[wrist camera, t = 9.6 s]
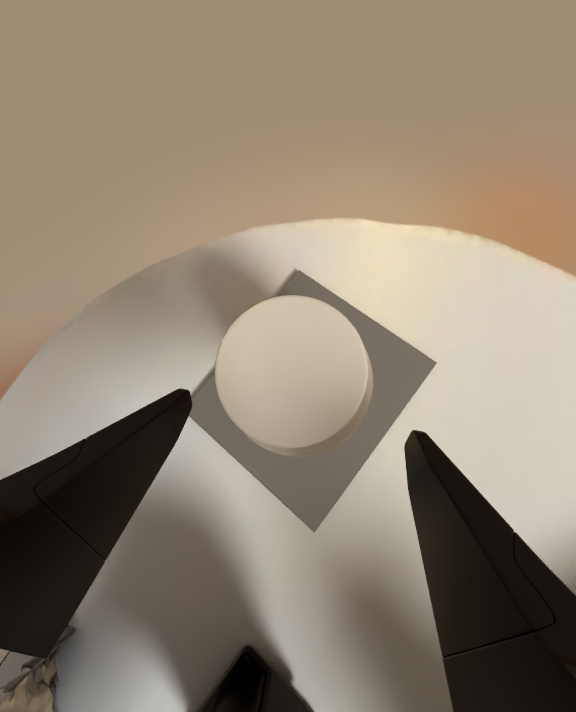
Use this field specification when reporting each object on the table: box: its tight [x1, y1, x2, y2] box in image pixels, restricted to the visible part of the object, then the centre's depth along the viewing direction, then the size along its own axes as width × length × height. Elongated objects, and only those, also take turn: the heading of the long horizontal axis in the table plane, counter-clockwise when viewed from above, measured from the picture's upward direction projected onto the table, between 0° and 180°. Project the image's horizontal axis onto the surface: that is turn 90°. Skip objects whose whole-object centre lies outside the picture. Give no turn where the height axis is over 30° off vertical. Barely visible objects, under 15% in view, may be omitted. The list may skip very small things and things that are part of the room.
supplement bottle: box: [215, 295, 373, 457], centre depth 13 cm, size 7×7×13 cm
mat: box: [189, 271, 436, 532], centre depth 20 cm, size 16×14×1 cm
